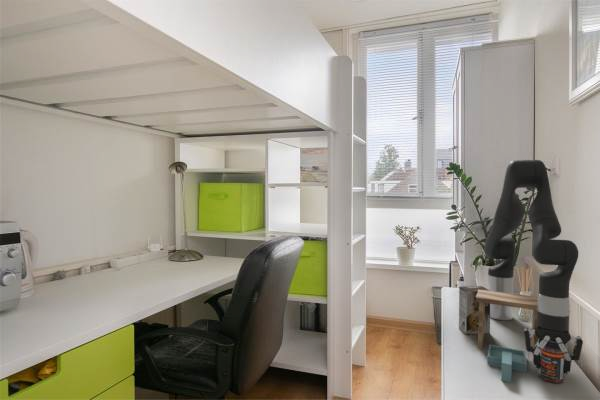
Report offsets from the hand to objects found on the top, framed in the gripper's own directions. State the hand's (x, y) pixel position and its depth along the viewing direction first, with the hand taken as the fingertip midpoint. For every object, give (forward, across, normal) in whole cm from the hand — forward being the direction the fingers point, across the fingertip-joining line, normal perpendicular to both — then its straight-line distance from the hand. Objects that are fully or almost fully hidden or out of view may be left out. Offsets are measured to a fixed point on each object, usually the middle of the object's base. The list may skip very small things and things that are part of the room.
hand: (551, 369), depth 107 cm
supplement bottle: (+3, 0, 0) cm, 3 cm away
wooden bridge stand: (+3, +11, -18) cm, 21 cm away
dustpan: (+3, +11, -1) cm, 11 cm away
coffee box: (+3, +22, -28) cm, 36 cm away
